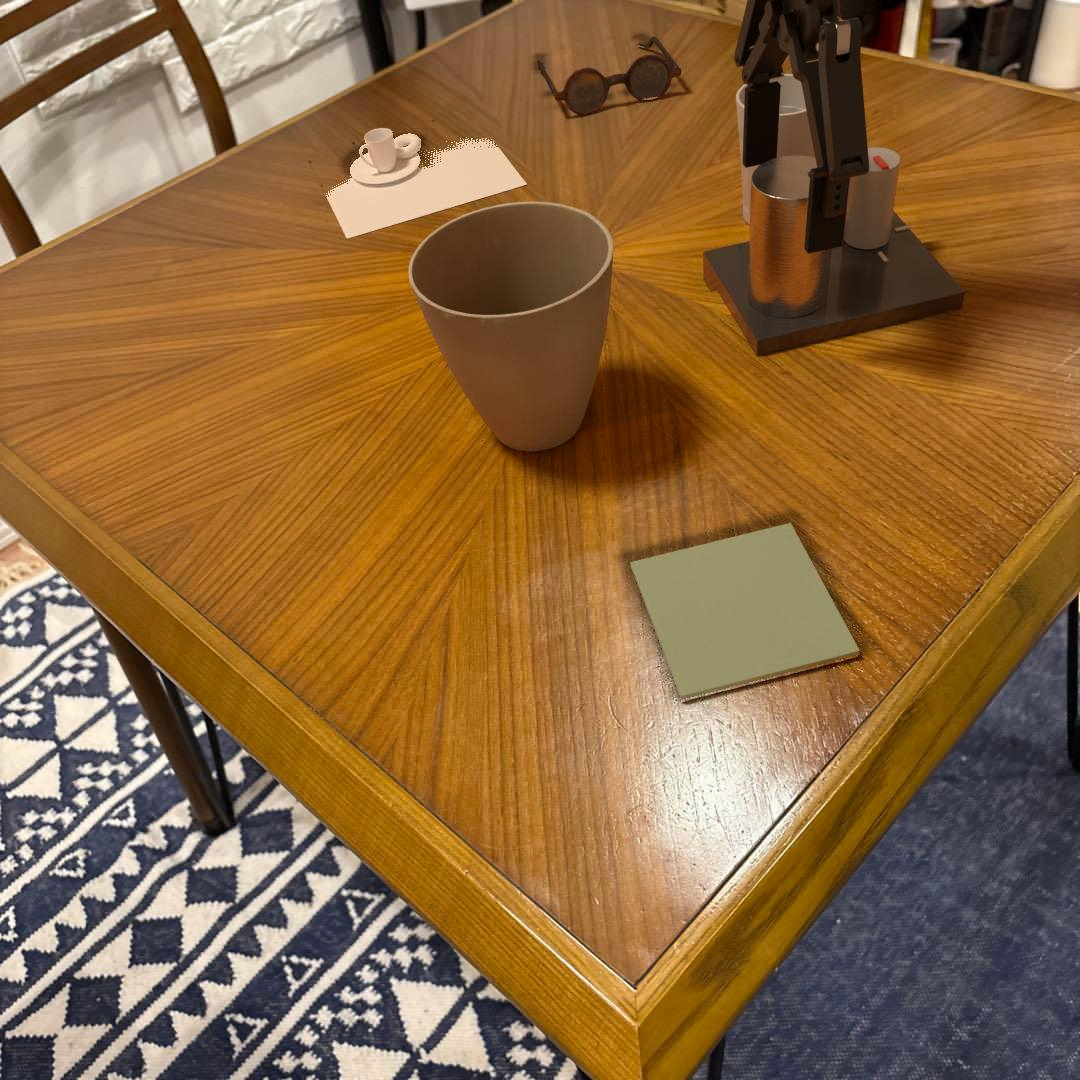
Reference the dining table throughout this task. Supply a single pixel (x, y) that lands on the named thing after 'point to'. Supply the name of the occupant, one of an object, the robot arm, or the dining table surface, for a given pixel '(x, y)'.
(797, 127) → the cup
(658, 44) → the eyeglasses
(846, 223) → the hob knob
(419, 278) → the plant pot
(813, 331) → the hob control panel
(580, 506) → the dining table surface
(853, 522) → the dining table surface
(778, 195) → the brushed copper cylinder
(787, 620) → the trivet
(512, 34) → the dining table surface
